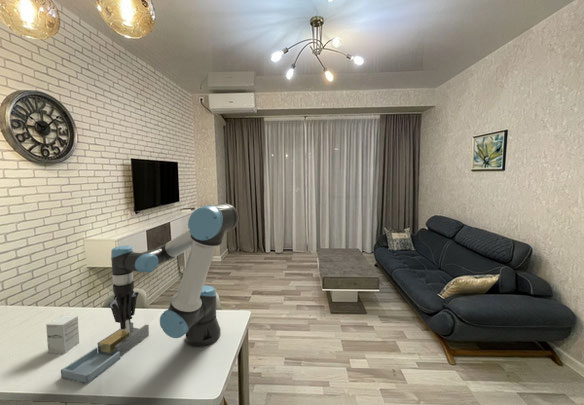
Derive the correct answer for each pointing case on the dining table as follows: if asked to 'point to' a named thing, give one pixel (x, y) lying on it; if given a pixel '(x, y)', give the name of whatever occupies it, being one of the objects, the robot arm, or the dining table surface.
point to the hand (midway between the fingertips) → (126, 334)
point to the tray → (89, 366)
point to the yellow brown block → (109, 344)
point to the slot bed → (128, 340)
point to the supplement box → (62, 334)
